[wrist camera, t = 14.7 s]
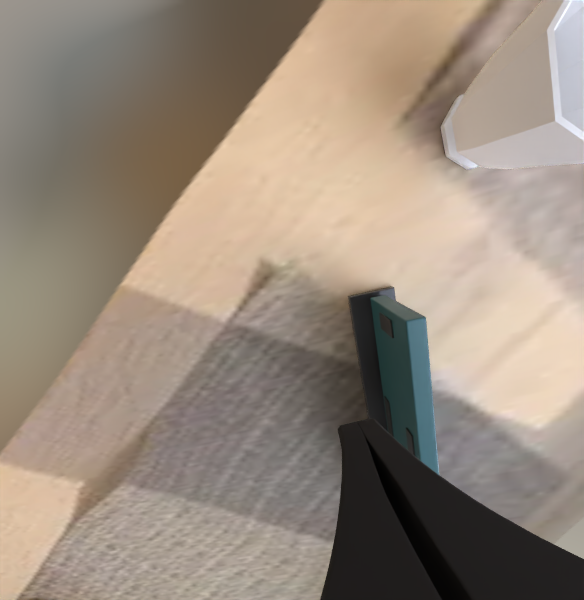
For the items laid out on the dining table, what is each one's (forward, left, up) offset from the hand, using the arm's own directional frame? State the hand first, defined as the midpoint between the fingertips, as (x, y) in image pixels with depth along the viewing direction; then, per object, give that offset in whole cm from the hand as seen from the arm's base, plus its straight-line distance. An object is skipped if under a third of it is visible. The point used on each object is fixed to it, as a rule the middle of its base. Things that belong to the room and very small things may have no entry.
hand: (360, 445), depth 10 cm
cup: (+12, -13, -10) cm, 20 cm away
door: (-3, -4, -9) cm, 10 cm away
